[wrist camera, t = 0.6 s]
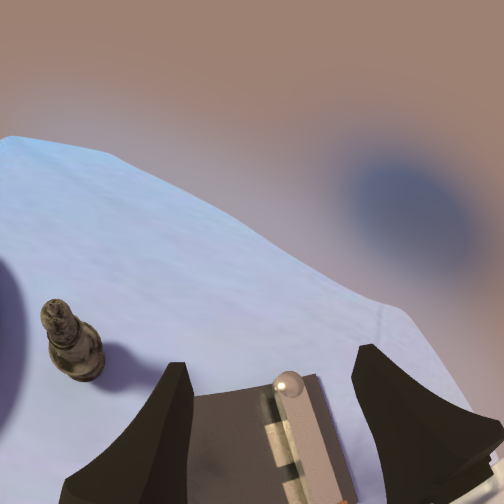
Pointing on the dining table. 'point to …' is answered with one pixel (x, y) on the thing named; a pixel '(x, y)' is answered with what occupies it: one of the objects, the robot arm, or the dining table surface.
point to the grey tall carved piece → (72, 342)
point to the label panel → (253, 449)
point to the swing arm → (305, 440)
